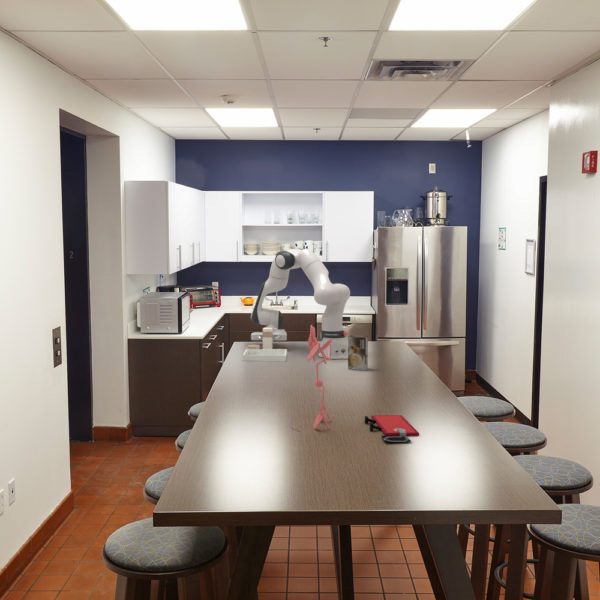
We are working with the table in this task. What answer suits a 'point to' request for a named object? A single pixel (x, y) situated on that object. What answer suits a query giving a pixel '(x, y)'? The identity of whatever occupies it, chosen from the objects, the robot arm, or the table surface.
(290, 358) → the table surface
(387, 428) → the red board with handle
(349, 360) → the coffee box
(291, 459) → the table surface
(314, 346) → the figurine
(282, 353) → the tray
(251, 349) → the lidded jar
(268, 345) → the juice carton
